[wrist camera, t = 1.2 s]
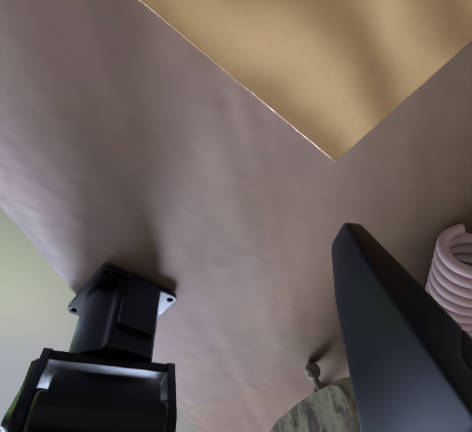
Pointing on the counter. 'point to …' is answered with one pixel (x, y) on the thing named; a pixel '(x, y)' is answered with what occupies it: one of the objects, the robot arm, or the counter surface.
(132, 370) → the robot arm
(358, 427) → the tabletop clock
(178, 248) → the counter surface
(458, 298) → the coil
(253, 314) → the counter surface
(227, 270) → the counter surface
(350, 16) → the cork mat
